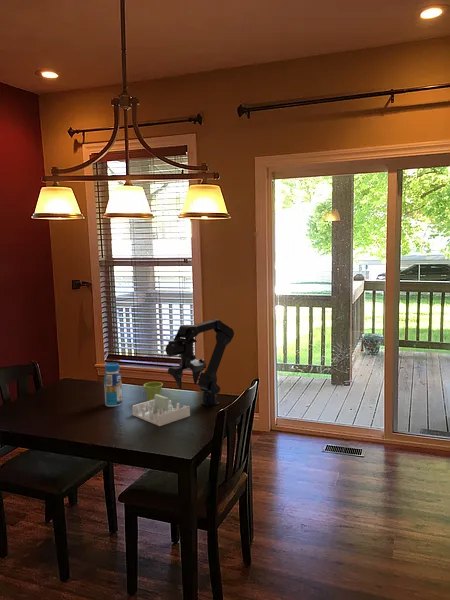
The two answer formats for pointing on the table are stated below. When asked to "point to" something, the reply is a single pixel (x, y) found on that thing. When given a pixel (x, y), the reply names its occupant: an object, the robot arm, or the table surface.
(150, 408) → the dish rack
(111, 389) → the beverage bottle
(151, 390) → the plant pot
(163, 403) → the green square slab
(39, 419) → the table surface
